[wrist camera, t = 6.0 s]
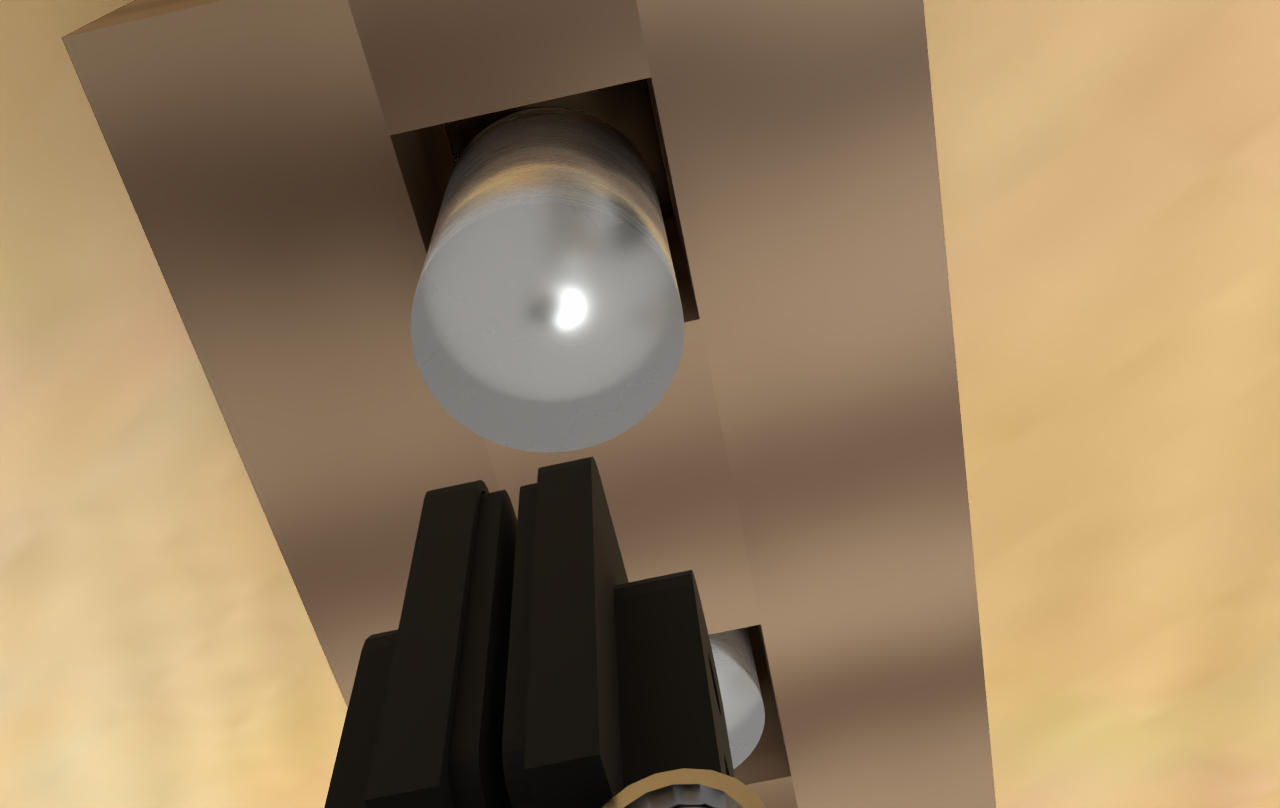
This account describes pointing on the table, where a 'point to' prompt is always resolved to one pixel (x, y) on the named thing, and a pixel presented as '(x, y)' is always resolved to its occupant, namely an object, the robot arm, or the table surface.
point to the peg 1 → (548, 286)
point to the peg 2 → (738, 691)
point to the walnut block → (712, 310)
